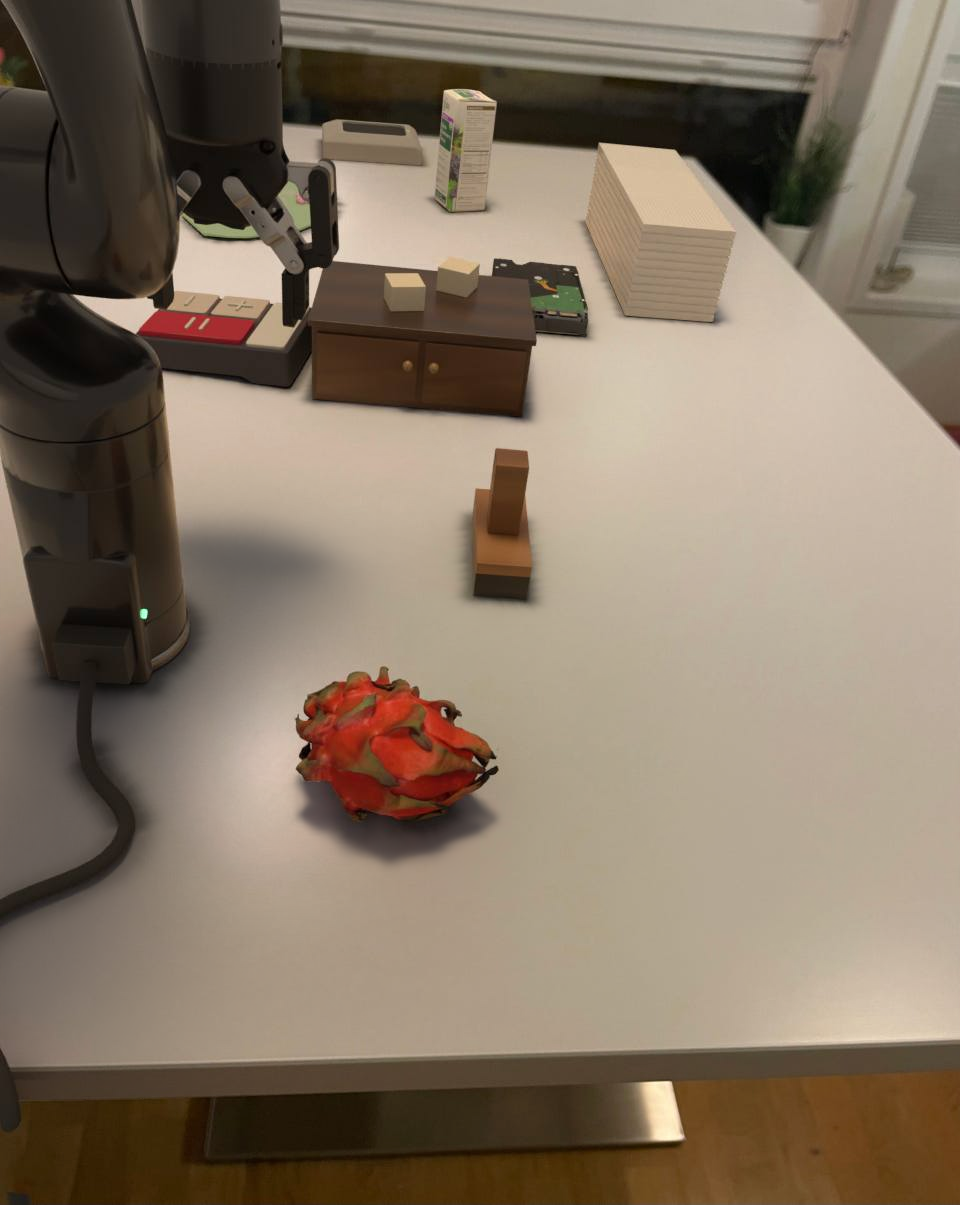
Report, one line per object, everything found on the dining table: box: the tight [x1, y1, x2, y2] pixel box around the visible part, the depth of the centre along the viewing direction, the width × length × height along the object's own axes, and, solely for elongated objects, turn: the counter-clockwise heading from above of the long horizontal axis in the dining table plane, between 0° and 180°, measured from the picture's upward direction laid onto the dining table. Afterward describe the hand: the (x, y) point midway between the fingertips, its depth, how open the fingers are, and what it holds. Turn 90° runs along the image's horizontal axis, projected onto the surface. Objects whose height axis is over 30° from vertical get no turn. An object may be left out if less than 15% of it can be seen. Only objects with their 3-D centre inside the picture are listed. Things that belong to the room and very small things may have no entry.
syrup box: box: [434, 88, 498, 213], centre depth 140 cm, size 6×6×14 cm
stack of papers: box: [585, 142, 737, 323], centre depth 129 cm, size 32×11×11 cm, turn 4°
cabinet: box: [308, 260, 538, 417], centre depth 99 cm, size 15×21×8 cm
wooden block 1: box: [384, 273, 426, 312], centre depth 94 cm, size 3×3×2 cm
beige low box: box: [321, 118, 423, 166], centre depth 158 cm, size 10×4×15 cm
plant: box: [182, 181, 311, 239], centre depth 132 cm, size 25×21×9 cm
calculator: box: [135, 290, 312, 387], centre depth 100 cm, size 11×4×15 cm
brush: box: [471, 447, 533, 600], centre depth 76 cm, size 10×4×9 cm, turn 1°
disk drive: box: [491, 257, 589, 336], centre depth 118 cm, size 10×3×15 cm
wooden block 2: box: [436, 256, 480, 298], centre depth 99 cm, size 3×3×2 cm
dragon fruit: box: [294, 665, 500, 823], centre depth 58 cm, size 8×8×12 cm
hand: (228, 313), depth 68 cm, fingers open, 8 cm apart
